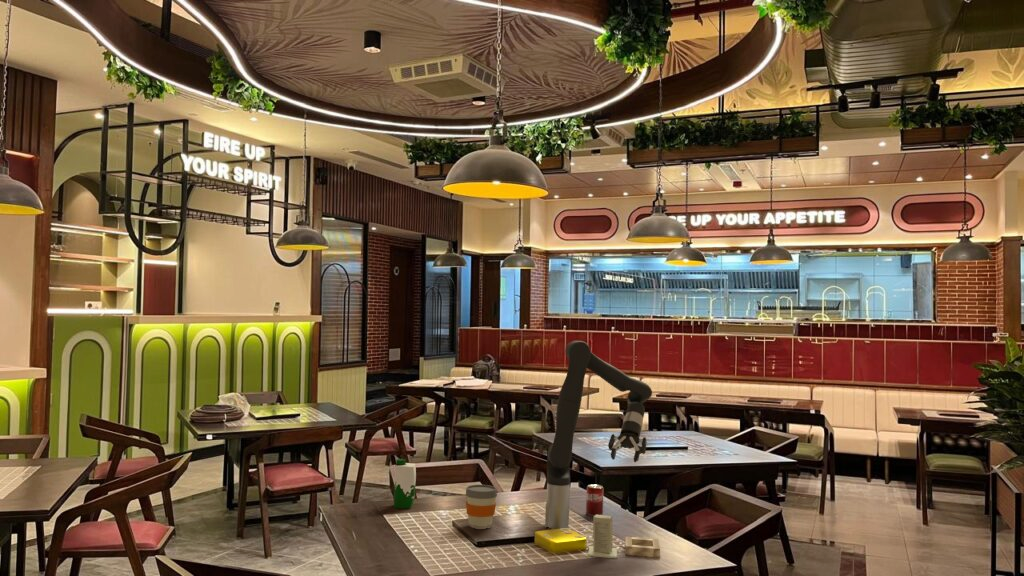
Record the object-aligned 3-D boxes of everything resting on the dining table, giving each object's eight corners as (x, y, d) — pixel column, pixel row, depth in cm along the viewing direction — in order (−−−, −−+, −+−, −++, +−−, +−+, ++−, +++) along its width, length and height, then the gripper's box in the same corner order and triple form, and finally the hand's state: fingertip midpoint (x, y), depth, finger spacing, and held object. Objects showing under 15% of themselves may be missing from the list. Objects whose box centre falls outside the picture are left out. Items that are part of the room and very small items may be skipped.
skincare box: (612, 550, 256) (613, 515, 256) (609, 553, 252) (610, 518, 252) (595, 547, 258) (596, 513, 259) (592, 551, 254) (593, 516, 254)
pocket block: (625, 554, 253) (625, 546, 253) (625, 544, 265) (625, 536, 265) (659, 557, 251) (660, 549, 252) (658, 547, 263) (658, 539, 263)
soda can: (602, 517, 303) (603, 488, 304) (585, 515, 305) (586, 487, 305) (603, 513, 310) (604, 485, 311) (586, 511, 312) (587, 483, 312)
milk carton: (395, 503, 314) (397, 457, 315) (415, 504, 314) (417, 458, 315) (391, 508, 305) (393, 461, 306) (412, 509, 305) (414, 462, 306)
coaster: (588, 556, 250) (588, 554, 250) (589, 547, 260) (589, 545, 260) (616, 558, 249) (616, 556, 249) (617, 549, 259) (617, 548, 259)
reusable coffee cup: (458, 528, 279) (460, 489, 280) (472, 520, 291) (473, 483, 292) (488, 532, 275) (489, 493, 275) (500, 524, 286) (502, 486, 287)
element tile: (532, 543, 265) (532, 529, 265) (567, 538, 271) (567, 526, 272) (552, 555, 251) (553, 541, 252) (588, 550, 258) (588, 537, 258)
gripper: (613, 418, 282) (604, 451, 271) (648, 421, 277) (640, 455, 265) (616, 430, 287) (607, 463, 276) (651, 433, 281) (643, 467, 270)
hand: (623, 459), depth 271 cm, fingers open, 8 cm apart
